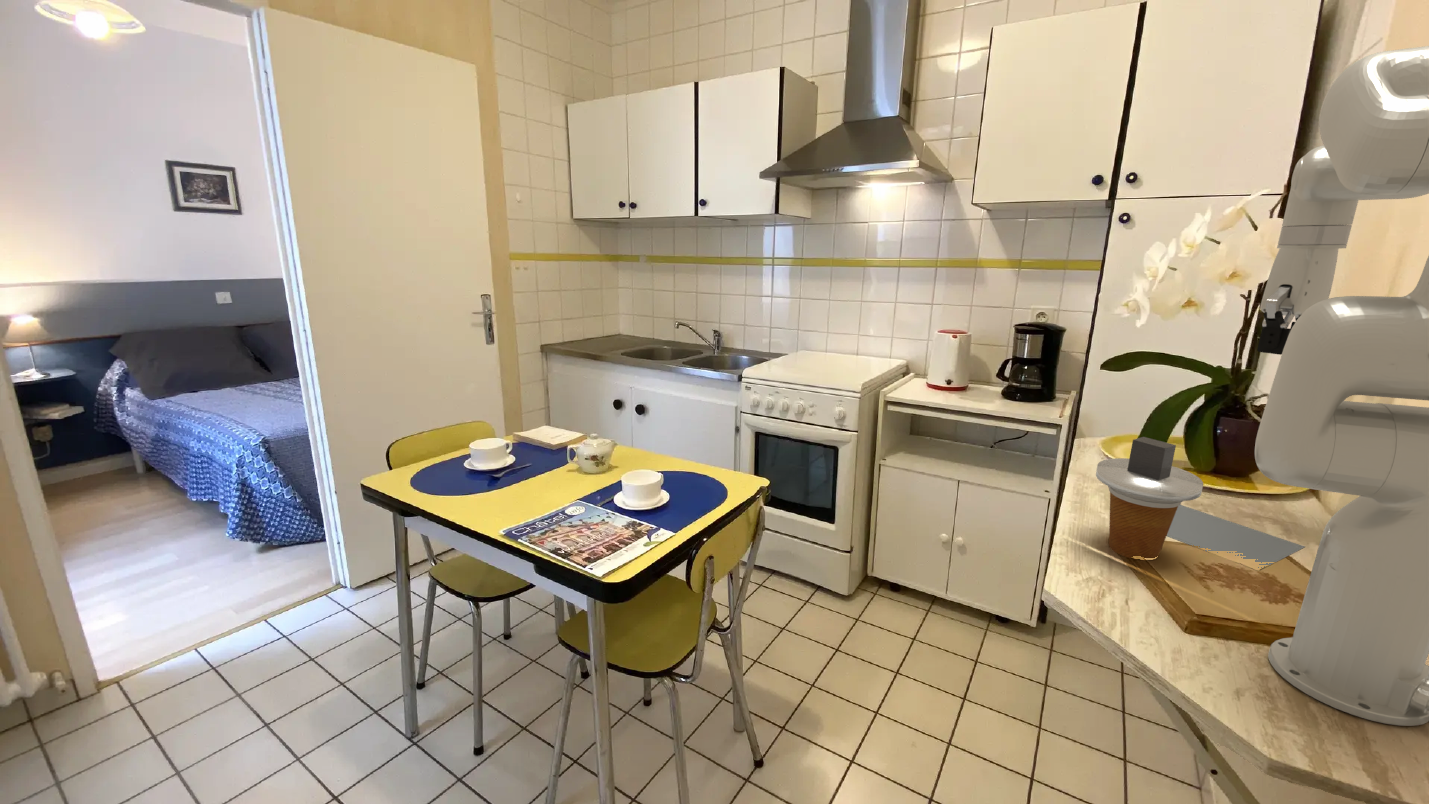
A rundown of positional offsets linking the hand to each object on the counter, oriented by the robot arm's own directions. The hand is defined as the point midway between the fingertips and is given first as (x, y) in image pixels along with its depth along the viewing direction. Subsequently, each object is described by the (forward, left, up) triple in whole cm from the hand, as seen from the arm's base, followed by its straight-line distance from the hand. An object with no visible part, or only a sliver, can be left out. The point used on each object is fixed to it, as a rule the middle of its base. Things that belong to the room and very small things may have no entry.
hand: (1285, 350), depth 93 cm
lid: (+3, +27, -18) cm, 33 cm away
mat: (+1, +10, -30) cm, 32 cm away
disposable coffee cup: (+3, +27, -31) cm, 41 cm away
